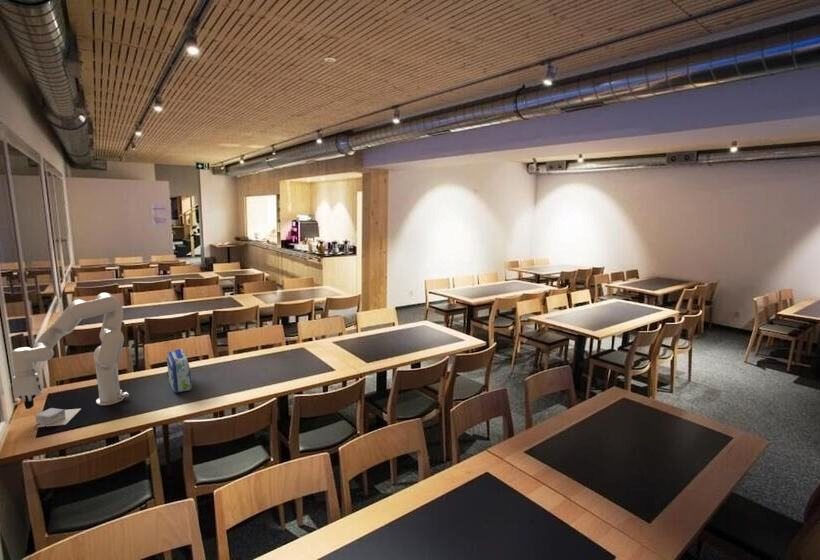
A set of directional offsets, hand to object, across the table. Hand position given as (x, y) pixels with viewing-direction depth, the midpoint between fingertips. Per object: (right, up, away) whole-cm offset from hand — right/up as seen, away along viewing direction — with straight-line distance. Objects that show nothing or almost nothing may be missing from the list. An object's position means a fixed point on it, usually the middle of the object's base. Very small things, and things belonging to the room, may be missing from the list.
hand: (29, 407), depth 212 cm
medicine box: (+5, -4, +2) cm, 7 cm away
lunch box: (+51, 0, +43) cm, 67 cm away
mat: (+11, -7, +4) cm, 14 cm away
